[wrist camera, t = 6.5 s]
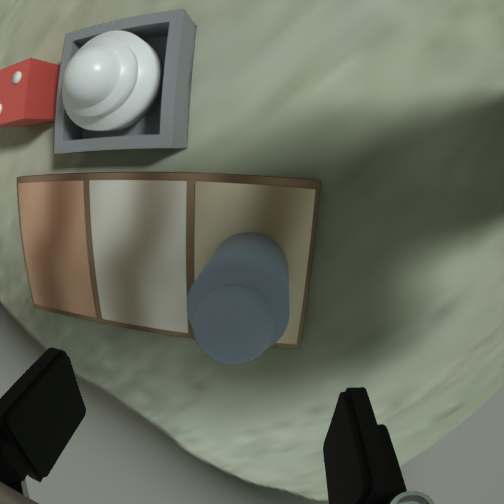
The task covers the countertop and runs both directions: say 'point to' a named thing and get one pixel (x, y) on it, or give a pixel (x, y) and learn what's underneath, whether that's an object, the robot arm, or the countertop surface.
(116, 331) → the countertop surface
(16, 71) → the red die
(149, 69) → the dome
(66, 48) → the base
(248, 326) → the pawn
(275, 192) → the game track
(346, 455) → the robot arm
